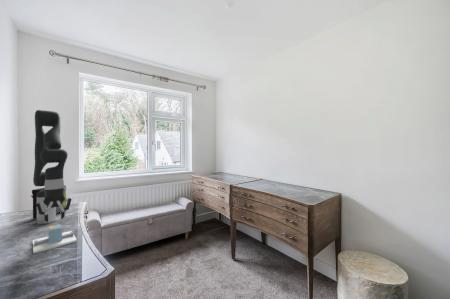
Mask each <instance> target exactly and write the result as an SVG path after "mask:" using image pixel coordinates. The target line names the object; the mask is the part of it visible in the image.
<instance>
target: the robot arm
mask: <svg viewBox="0 0 450 299" xmlns="http://www.w3.org/2000/svg"><path fill="white" fill-rule="evenodd" d="M43 127H52V128H50V129H49V130H47V132H45V131H44V128H43ZM34 130H35V131H34V132H35V137H34V138H35V140H34V171H33V179H32V180H33V181H32V183H33V185H34V186H35V187H43V188H45V190H43V191H40V192H38V193H37V203H36V205H37V219H36V224H37V225H44V224H45V225H46V224H50V223H54V222H55V221H56V220H57V218H56V215H57V214H56V207H60V209H61V213H60V220H63V219H64V218H65V217H66V216H65V214H66V213H65V212H67V211H69V209H70V206H71V202H72V198H71V197H66V198H65V197H64V186H65V182H64V167H65V164H66V162H67V160H68V152H67V150H66V149H65V148H64V149H63V148H62V142H61V141H62V140H61V116H60V113H58V112H57V111H50V110H43V109H39V110H38V109H37V110H36V111H35V112H34ZM61 148H62V149H61ZM54 163H55V164H56V166H52V167H47V168H45V166H46V165H47V164H54ZM57 163H58V164H57ZM44 168H45V171H42V170H43V169H44ZM65 200H66V208H63V206H62V203H63V202H64V201H65Z"/></svg>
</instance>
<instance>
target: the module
mask: <svg viewBox="0 0 450 299" xmlns="http://www.w3.org/2000/svg"><path fill="white" fill-rule="evenodd" d="M62 233H63V227H62V225H61V224H55V225H49V226H47V237H48V239H49V244H51V243H54V242H58V241H62Z"/></svg>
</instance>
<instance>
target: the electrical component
mask: <svg viewBox="0 0 450 299" xmlns="http://www.w3.org/2000/svg"><path fill="white" fill-rule="evenodd" d="M43 190H45V188H44V187H41V188H36V189H32V190H31V194H32V195H30V197H31V198H32V219H33V218H37V205H36V203H37V193H38V192H40V191H43ZM66 191H67V186H66V185H64V197H65V198H67V195H66ZM66 204H67V202H66V200H65V201H64V202H63V203H62V206H63V208H66ZM59 212H61V209H60V207H56V215H57V213H58V214H60V213H59Z"/></svg>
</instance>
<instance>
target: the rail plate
mask: <svg viewBox="0 0 450 299" xmlns="http://www.w3.org/2000/svg"><path fill="white" fill-rule="evenodd" d="M77 242H78V240H77V238H76V236H75V234H74V232H73V230H69V231H65V232H62V241H58V242H54V243H51V244H49V239H48V236H44V237H41V238H36V239H33V240H32V253H33V254H39V253H41V252H45V251H49V250H52V249H55V248H59V247H62V246H63V247H64V246H65V245H70V244H73V243H77Z"/></svg>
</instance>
